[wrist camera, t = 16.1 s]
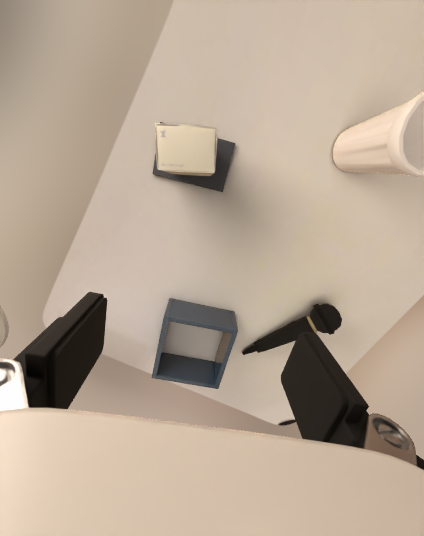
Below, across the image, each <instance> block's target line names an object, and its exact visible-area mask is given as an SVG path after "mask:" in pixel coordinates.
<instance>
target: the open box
mask: <svg viewBox="0 0 424 536" xmlns="http://www.w3.org/2000/svg"><path fill="white" fill-rule="evenodd" d="M169 321H172V322H177V323H182V324H187V325H193V326H198V327H203V328H208V329H213V330H218V331H223V336H222V339H221V342H220V345H219V348H218V351H217V355H216V358H215V361H214V362H212V361H206V360H201V359H195V358H189V357H184V356H178V355H173V354H167V353H163V348H164V343H165V339H166V334H167V329H168V324H169ZM237 332H238V328H237V323H236V318H235V313H234V311H229V310H224V309H219V308H214V307H209V306H204V305H200V304H195V303H190V302H185V301H180V300H175V299H169V302H168V305H167V308H166V311H165V315H164V319H163V324H162V329H161V334H160V339H159V344H158V349H157V354H156V359H155V364H154V369H153V374H152V378H156V379H162V380H168V381H174V382H179V383H185V384H191V385H197V386H203V387H209V388H215V389H218V388H219V385H220V382H221V379H222V376H223V373H224V370H225V367H226V364H227V361H228V358H229V355H230V352H231V350H232V347H233V344H234V341H235V338H236V335H237Z"/></svg>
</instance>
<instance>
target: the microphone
mask: <svg viewBox="0 0 424 536" xmlns="http://www.w3.org/2000/svg"><path fill="white" fill-rule="evenodd" d="M313 307H314V308H313V309H312V311H311V313H310V317H309V316H305V317H303V318H301V319H299V320H297V321H294V322H292V323H290V324H288V325H287V326H285V327H283V328H281V329H279V330H277V331H275V332H274V333H272V334H270V335H268V336H266V337H264V338H262V339H260V340H258V341H257V342H255V343H254V346H252V347H250V348H248V349H247V350H245V351H243V352H242V354H243V355H245V354H249V353H253V352H255V351H257V352H258V353H259V352H261V351H262V352H263V351H266V350H269V349H272V348H275V347H278V346H281V345H284V344H287V343H290V342H292V341H295V340H297V337H298V335H299V334H302V333H303V332H310V333H315V334H316V332H317V331H320V332H322V333H329V334H330V335H331V334H334V331H335V330H337V329H338V328H339V327H340V326H341V322H342V318H341V316H340V313H339V312H338V310H337V309H336V308H335V307H334V306H331V305H329V304H322V305H318V304H316V305H314V306H313Z"/></svg>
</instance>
